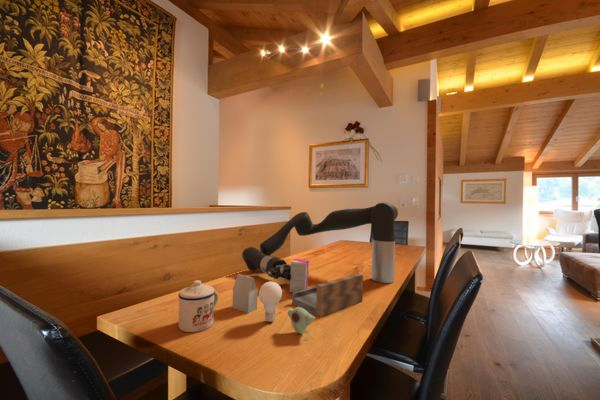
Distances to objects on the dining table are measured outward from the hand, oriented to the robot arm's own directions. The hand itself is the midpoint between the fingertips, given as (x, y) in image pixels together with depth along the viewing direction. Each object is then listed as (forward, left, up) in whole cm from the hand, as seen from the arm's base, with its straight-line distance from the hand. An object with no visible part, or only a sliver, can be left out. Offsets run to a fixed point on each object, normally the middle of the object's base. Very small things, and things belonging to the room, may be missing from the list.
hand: (299, 275), depth 99 cm
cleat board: (-1, +13, -6) cm, 14 cm away
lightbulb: (+22, +13, -6) cm, 26 cm away
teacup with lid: (+37, +2, -6) cm, 38 cm away
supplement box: (0, 0, -6) cm, 6 cm away
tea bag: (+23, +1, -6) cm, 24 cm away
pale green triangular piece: (+20, +23, -6) cm, 31 cm away
